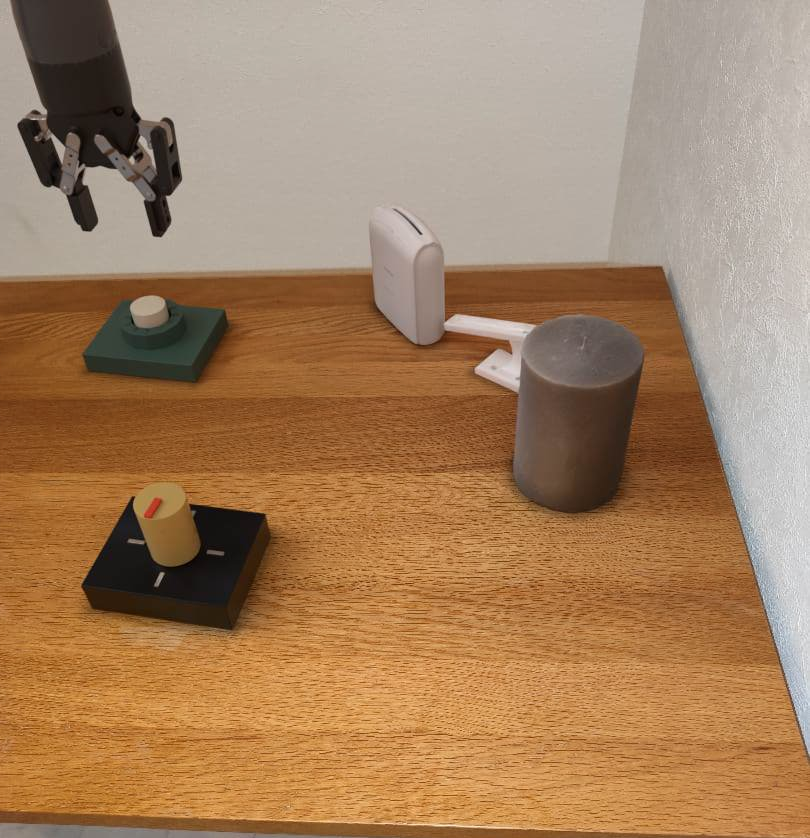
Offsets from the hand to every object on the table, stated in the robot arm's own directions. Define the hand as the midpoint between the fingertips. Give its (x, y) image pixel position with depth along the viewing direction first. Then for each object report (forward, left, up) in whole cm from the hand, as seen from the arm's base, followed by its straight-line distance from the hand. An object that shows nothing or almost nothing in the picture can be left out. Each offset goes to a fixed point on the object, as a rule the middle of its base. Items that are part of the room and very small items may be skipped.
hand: (125, 229), depth 85 cm
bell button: (0, 0, -10) cm, 10 cm away
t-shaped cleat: (+39, +1, -14) cm, 41 cm away
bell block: (0, 0, -14) cm, 14 cm away
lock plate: (+14, -29, -14) cm, 35 cm away
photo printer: (+25, +9, -14) cm, 30 cm away
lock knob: (+14, -29, -11) cm, 34 cm away
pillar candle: (+44, -12, -14) cm, 48 cm away
